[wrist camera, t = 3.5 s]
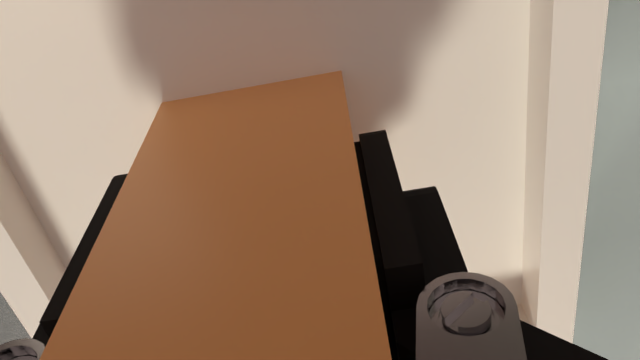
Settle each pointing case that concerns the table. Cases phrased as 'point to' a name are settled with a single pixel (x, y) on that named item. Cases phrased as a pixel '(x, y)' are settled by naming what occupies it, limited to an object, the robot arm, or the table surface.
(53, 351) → the orange rectangular block
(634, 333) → the table surface
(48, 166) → the tray
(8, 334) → the table surface
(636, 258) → the table surface
